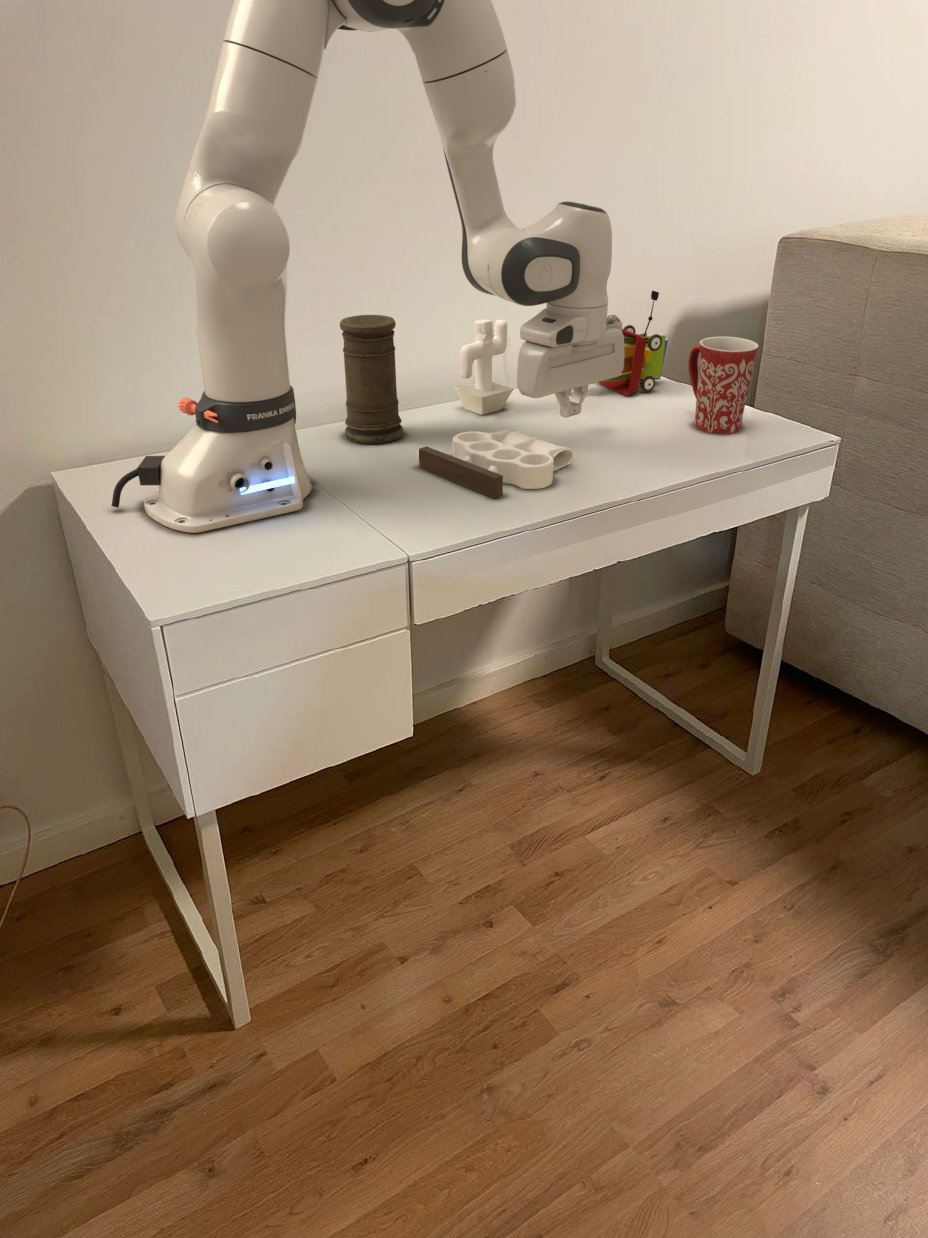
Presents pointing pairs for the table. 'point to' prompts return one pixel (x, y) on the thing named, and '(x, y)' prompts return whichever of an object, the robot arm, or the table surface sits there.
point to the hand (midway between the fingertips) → (570, 415)
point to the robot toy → (639, 360)
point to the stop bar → (461, 472)
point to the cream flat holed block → (513, 456)
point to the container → (370, 379)
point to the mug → (721, 382)
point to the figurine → (483, 369)
